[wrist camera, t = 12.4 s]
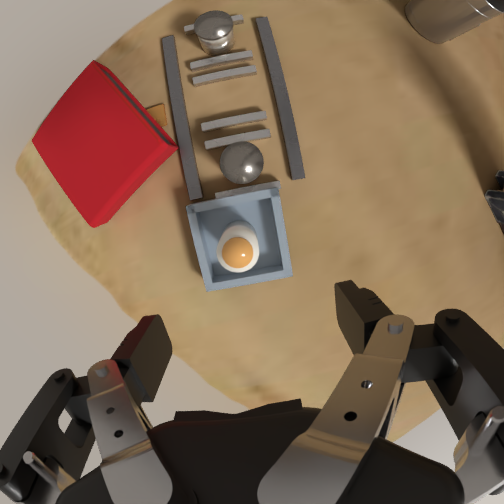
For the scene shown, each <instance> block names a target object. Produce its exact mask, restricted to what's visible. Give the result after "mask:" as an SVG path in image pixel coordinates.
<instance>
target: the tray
mask: <svg viewBox="0 0 504 504" xmlns="http://www.w3.org/2000/svg"><path fill="white" fill-rule="evenodd" d="M186 211H187V215H188V219H189V224H190V228H191V232H192V236H193V240H194V245H195V249H196V253H197V257H198V261H199V265H200V268H201V272H202V276H203V280H204V284H205V287H206V291H207V292H208V291H214V290H220V289H226V288H232V287H237V286H243V285H248V284H254V283H259V282H265V281H270V280H275V279H281V278H286V277H291V276H293V274H292V267H291V261H290V255H289V248H288V242H287V236H286V230H285V224H284V219H283V213H282V207H281V201H280V196H279V190H278V187H274V188H268V189H263V190H257V191H252V192H247V193H242V194H237V195H232V196H227V197H222V198H217V199H216V198H215V199H210V200H205V201H201V202H196V203H192V204H189V205H187V206H186ZM237 220H242V221H246V222H248V223H250V224H251V225H252V226H253V227H254V228H255V230H256V233H257V239H258V246H259V257H258V260H257V262H256V264H255V265H254V266H253V267H252V268H251V269H249V270H247V271H245V272H231V271H229V270H227V269H225V268H224V267H223V266H222V265H221V264H220V262H219V261H218V258H217V254H216V250H217V245H218V243H219V240H220V238H221V236H222V234H223V232H224V229H225V228H226V226H227V225H228V224H230V223H231V222H233V221H237Z"/></svg>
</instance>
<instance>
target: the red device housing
mask: <svg viewBox="0 0 504 504" xmlns="http://www.w3.org/2000/svg"><path fill="white" fill-rule="evenodd" d="M32 142H33V144H34V146H35V147H36V149H37V151H38V152H39V154H40V156H41V157H42V159H43V160H44V162H45V164H46V165H47V167H48V168H49V170H50V171H51V173H52V174H53V176H54V177H55V179H56V180H57V182H58V183H59V185H60V186H61V188H62V189H63V190H64V192H65V193H66V195H67V196H68V198H69V199H70V200H71V202H72V203H73V204H74V206H75V207H76V209H77V210H78V211H79V213H80V214H81V215H82V217H83V218H84V219H85V221H86V222H87V223H88V224H89V225H90V226H91V227H93V228H95V227H98V226H100V225H102V224H105V223H107V222H108V221H109V220H110V219H111V218H112V217H113V215H114V214H115V213H116V212H117V211H118V210H119V209H120V207H121V206H122V205H123V204H124V203H125V202H126V201H127V200H128V198H129V197H130V196H131V195H132V194H133V193H134V192H135V191H136V190H137V189H138V188H139V187H140V186H141V185H142V184H143V182H144V181H145V180H146V179H147V178H148V177H149V176H150V175H151V174H152V173H153V172H154V171H155V170H156V169H157V168H158V167H159V166H160V165H161V164H162V163H163V162H164V161H165V160H166V159H168V158H169V157H170V156H171V155H172V154H173V153H174V152H175V151H176V150H177V149H178V146H177V144H176V143H175V142H174V141H173V140H172V139H171V138H170V137H169V135H168V134H167V133H166V132H165V131H164V130H163V129H162V127H161V126H160V125H159V124H158V123H157V122H156V121H155V120H154V118H153V117H152V116H151V115H150V114H149V113H148V112H147V111H146V109H145V108H144V107H143V106H142V105H141V104H140V103H139V102H138V100H137V99H136V98H135V97H134V96H133V95H132V94H131V93H130V92H129V90H128V89H127V88H126V87H125V86H124V85H123V84H122V83H121V82H120V80H119V79H118V78H117V77H116V76H115V75H114V74H113V73H112V72H111V71H110V70H109V69H108V68H107V67H105V66H103V65H102V64H100V63H98V62H96V61H95V60H93V61H92V62H91V63H90V64H89V65H88V66H87V67H86V68H85V70H84V71H83V72H82V73H81V74H80V75H79V76H78V78H77V79H76V80H75V81H74V82H73V83H72V85H71V86H70V87H69V88H68V89H67V91H66V92H65V93H64V95H63V96H62V97H61V98H60V100H59V101H58V102H57V104H56V105H55V106H54V108H53V109H52V110H51V112H50V113H49V115H48V116H47V118H46V119H45V120H44V122H43V123H42V125H41V126H40V128H39V129H38V131H37V133H36V134H35V136H34V137H33V139H32Z"/></svg>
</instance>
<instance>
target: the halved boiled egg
mask: <svg viewBox="0 0 504 504" xmlns="http://www.w3.org/2000/svg"><path fill="white" fill-rule="evenodd" d="M216 254H217V258H218V261H219V262H220V264H221V265H222V266H223V267H224V268H225V269H227V270H229V271H231V272H245V271H247V270H249V269H251V268H252V267H253V266H254V265H255V264H256V262H257V260H258V257H259V246H258V239H257V233H256V230H255V228H254V227H253V226H252V225H251V224H250V223H248V222H246V221H242V220H237V221H233V222H231V223H230V224H228V225H227V226H226V228H225V229H224V232H223V234H222V236H221V238H220V240H219V243H218V245H217V250H216Z"/></svg>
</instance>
